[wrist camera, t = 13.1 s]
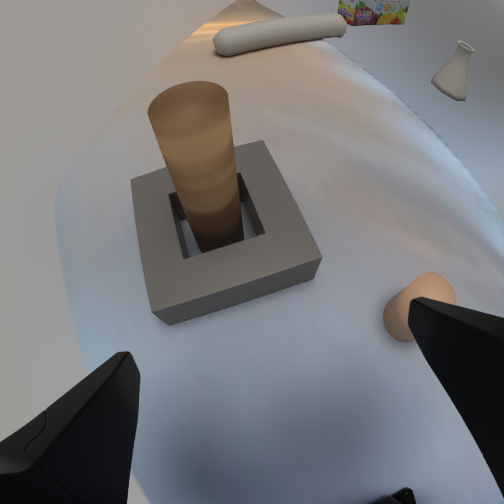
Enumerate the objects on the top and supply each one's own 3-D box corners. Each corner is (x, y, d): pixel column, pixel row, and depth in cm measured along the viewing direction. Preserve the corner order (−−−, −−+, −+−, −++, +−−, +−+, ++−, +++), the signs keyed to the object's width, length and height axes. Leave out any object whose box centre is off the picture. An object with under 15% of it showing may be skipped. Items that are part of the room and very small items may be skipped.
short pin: (431, 329, 21) (463, 313, 17) (394, 349, 21) (424, 338, 16) (412, 288, 23) (441, 264, 19) (375, 305, 23) (400, 284, 18)
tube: (221, 43, 36) (350, 23, 40) (208, 25, 36) (333, 7, 40) (220, 66, 41) (341, 42, 45) (208, 48, 41) (326, 26, 46)
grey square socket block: (313, 278, 24) (322, 257, 20) (168, 325, 22) (151, 312, 19) (263, 169, 29) (262, 139, 25) (144, 205, 28) (130, 179, 24)
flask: (470, 98, 37) (489, 56, 28) (457, 106, 35) (478, 59, 26) (440, 75, 40) (455, 33, 31) (423, 81, 38) (439, 34, 29)
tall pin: (250, 251, 25) (238, 113, 12) (203, 265, 25) (151, 138, 12) (235, 212, 27) (217, 74, 14) (192, 226, 26) (145, 94, 14)
